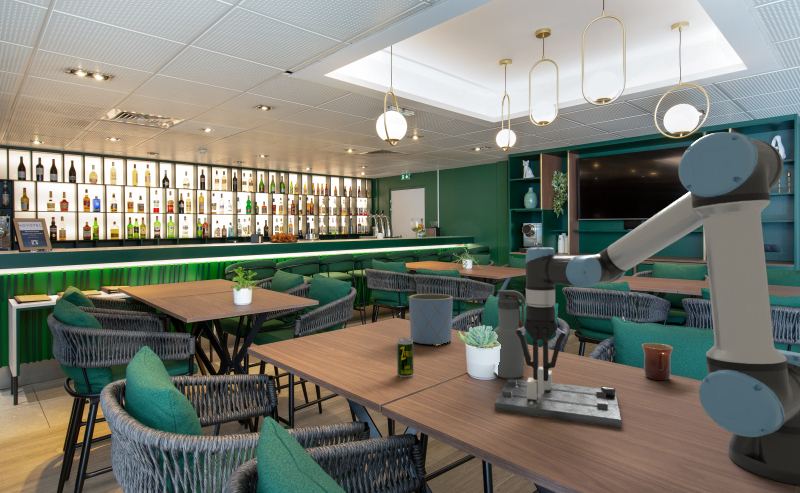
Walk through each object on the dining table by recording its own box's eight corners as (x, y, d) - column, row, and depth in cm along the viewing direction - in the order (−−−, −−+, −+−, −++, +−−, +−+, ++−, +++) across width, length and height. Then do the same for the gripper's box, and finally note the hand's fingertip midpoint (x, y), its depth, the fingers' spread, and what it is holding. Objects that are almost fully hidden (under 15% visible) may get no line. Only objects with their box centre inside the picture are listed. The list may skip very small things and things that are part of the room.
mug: (637, 373, 148) (638, 342, 148) (666, 374, 146) (666, 343, 146) (650, 384, 136) (650, 351, 136) (682, 386, 134) (682, 352, 134)
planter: (460, 340, 198) (459, 295, 197) (440, 349, 181) (440, 300, 181) (422, 335, 208) (422, 292, 207) (401, 343, 192) (400, 297, 191)
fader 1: (536, 399, 118) (536, 382, 118) (527, 398, 119) (526, 381, 119) (538, 394, 122) (538, 378, 122) (528, 393, 123) (528, 377, 123)
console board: (621, 427, 106) (621, 411, 106) (494, 410, 117) (494, 395, 117) (614, 396, 126) (614, 383, 126) (507, 384, 138) (507, 372, 138)
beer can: (395, 373, 149) (395, 338, 149) (410, 372, 151) (410, 337, 151) (400, 378, 144) (399, 342, 144) (415, 377, 146) (415, 340, 145)
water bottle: (525, 371, 151) (525, 289, 150) (525, 380, 141) (525, 292, 141) (494, 369, 153) (494, 288, 153) (492, 378, 144) (492, 292, 143)
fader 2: (551, 390, 125) (551, 374, 125) (541, 389, 126) (541, 373, 126) (551, 385, 129) (551, 370, 129) (542, 384, 130) (542, 369, 130)
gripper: (566, 304, 120) (567, 390, 120) (517, 301, 125) (518, 385, 125) (565, 308, 113) (566, 400, 113) (513, 305, 118) (514, 393, 118)
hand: (540, 392), depth 119 cm, fingers closed
